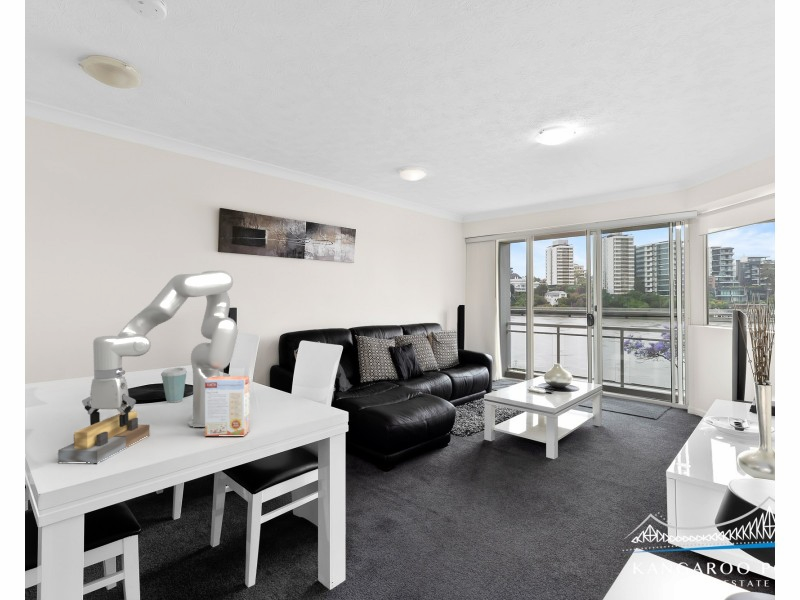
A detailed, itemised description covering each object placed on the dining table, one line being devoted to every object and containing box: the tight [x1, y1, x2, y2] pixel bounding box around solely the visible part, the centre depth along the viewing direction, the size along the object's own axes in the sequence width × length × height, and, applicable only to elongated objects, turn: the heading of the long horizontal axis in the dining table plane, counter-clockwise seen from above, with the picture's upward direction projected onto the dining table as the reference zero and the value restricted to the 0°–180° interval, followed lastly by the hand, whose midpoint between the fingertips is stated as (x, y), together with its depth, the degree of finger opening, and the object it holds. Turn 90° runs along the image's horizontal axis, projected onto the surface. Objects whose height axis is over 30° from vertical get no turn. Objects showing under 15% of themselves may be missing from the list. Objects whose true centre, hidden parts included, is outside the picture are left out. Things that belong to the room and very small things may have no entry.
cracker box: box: [204, 376, 250, 436], centre depth 147 cm, size 14×6×21 cm, turn 92°
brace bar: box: [73, 410, 138, 449], centre depth 133 cm, size 4×22×5 cm, turn 178°
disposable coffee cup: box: [160, 367, 188, 403], centre depth 190 cm, size 11×11×15 cm
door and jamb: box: [57, 417, 151, 463], centre depth 133 cm, size 12×24×8 cm, turn 178°
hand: (109, 425), depth 133 cm, fingers open, 9 cm apart
